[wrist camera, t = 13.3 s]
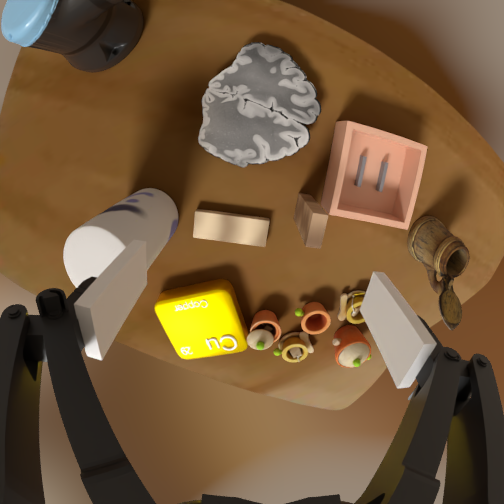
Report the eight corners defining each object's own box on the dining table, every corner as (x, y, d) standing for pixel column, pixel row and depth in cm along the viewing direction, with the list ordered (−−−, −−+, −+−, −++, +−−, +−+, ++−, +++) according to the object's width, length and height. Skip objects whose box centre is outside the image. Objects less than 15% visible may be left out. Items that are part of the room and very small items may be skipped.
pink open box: (335, 121, 41) (347, 120, 35) (409, 143, 41) (427, 146, 36) (320, 204, 46) (329, 214, 41) (392, 218, 47) (407, 229, 41)
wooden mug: (390, 272, 51) (434, 328, 35) (418, 209, 46) (478, 246, 30) (421, 282, 52) (466, 334, 36) (448, 224, 47) (506, 262, 30)
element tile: (229, 275, 52) (227, 289, 48) (250, 336, 58) (250, 352, 53) (156, 291, 54) (149, 304, 49) (184, 347, 59) (180, 362, 55)
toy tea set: (374, 283, 52) (393, 311, 44) (369, 341, 59) (383, 371, 50) (242, 303, 54) (240, 336, 46) (255, 360, 61) (255, 393, 52)
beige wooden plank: (269, 217, 48) (269, 221, 46) (264, 242, 50) (265, 247, 48) (197, 208, 47) (195, 211, 45) (195, 233, 49) (193, 237, 47)
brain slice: (286, 183, 45) (288, 186, 43) (187, 144, 43) (183, 145, 40) (334, 78, 38) (339, 74, 35) (234, 37, 36) (233, 31, 33)
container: (160, 177, 45) (102, 209, 26) (189, 228, 48) (152, 288, 30) (116, 205, 46) (50, 249, 28) (144, 251, 50) (94, 315, 32)
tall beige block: (298, 192, 46) (312, 212, 35) (310, 194, 46) (328, 215, 35) (293, 218, 47) (305, 246, 36) (305, 220, 47) (320, 248, 36)
